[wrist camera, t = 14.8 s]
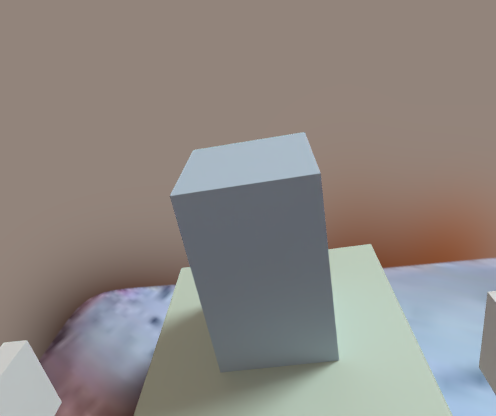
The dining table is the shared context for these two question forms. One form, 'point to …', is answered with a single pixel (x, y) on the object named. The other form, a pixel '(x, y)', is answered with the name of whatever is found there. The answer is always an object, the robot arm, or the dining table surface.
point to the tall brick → (259, 252)
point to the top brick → (304, 375)
